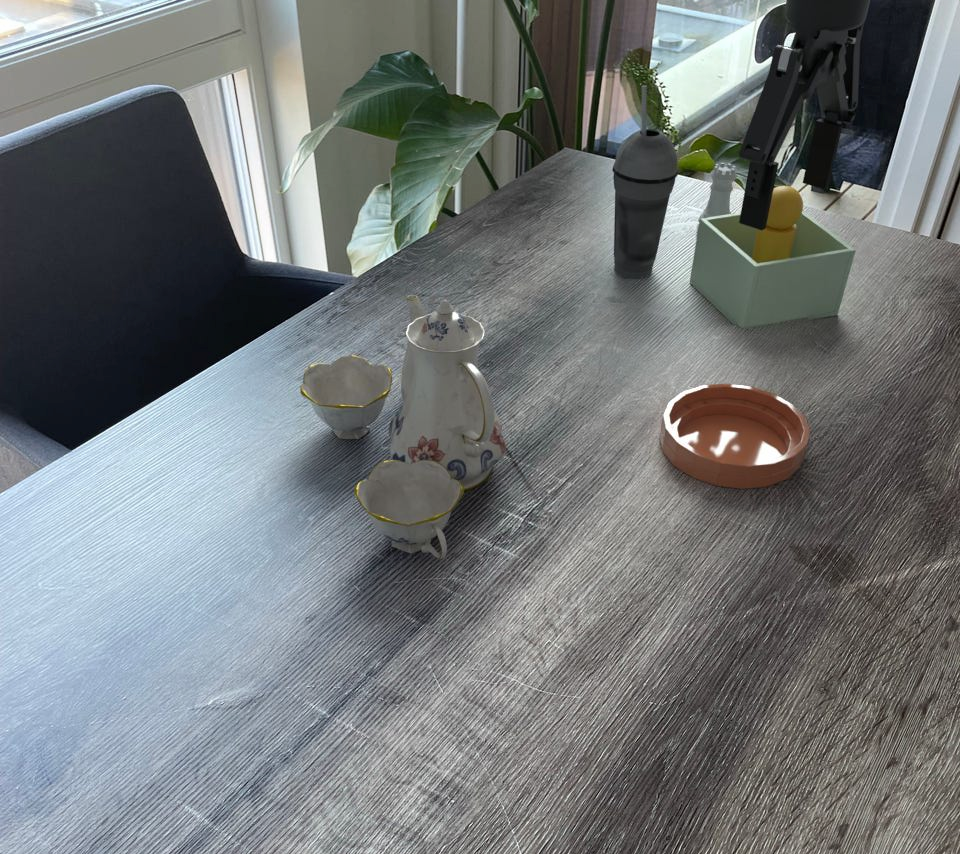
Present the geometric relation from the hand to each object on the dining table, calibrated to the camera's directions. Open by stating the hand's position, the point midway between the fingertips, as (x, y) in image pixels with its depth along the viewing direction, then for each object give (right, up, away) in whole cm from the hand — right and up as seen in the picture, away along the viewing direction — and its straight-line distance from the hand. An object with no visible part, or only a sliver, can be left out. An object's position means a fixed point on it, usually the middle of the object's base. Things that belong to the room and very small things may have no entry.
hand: (784, 205), depth 110 cm
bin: (0, -7, +8) cm, 11 cm away
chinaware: (-38, -31, -16) cm, 52 cm away
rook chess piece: (-3, +5, +20) cm, 20 cm away
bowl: (-9, -28, -13) cm, 33 cm away
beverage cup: (-14, -3, +12) cm, 19 cm away
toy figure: (0, -7, +7) cm, 10 cm away
